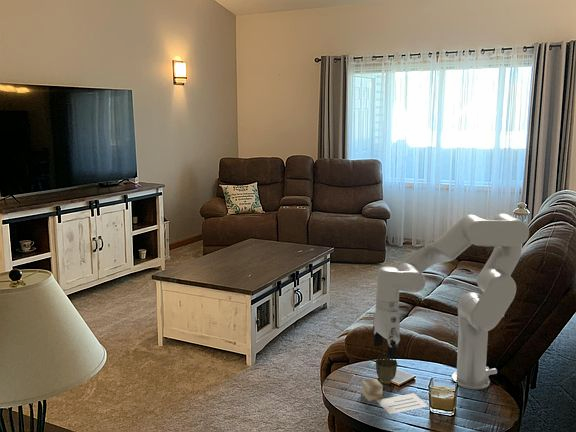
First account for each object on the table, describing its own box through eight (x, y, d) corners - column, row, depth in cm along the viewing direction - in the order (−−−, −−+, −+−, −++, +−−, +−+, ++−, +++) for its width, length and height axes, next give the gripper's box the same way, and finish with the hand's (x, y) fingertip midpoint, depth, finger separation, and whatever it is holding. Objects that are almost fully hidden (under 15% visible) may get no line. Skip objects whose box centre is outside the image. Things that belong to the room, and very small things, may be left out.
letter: (413, 393, 192) (413, 393, 192) (428, 407, 183) (428, 406, 183) (376, 401, 187) (376, 400, 187) (389, 414, 179) (389, 414, 179)
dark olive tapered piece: (396, 389, 195) (397, 367, 194) (374, 387, 197) (375, 365, 195) (397, 378, 202) (397, 357, 201) (375, 377, 204) (376, 356, 202)
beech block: (375, 392, 193) (375, 378, 192) (382, 399, 188) (382, 385, 188) (361, 395, 192) (361, 381, 191) (368, 402, 187) (368, 387, 186)
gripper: (410, 311, 187) (407, 360, 190) (384, 294, 203) (382, 340, 206) (389, 313, 185) (387, 363, 188) (365, 296, 201) (363, 342, 204)
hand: (384, 351), depth 197 cm, fingers open, 9 cm apart
